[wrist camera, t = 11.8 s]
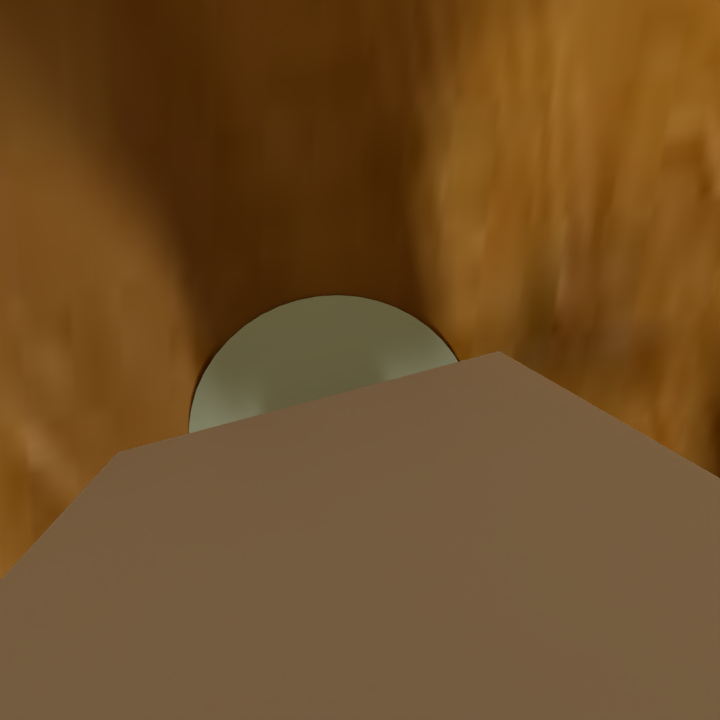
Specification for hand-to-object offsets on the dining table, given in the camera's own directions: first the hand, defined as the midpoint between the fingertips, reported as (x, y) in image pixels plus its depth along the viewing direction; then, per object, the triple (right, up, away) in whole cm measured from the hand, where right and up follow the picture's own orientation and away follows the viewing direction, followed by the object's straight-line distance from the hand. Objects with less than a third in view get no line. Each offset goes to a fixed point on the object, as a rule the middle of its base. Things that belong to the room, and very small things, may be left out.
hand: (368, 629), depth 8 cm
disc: (-1, +2, +8) cm, 8 cm away
